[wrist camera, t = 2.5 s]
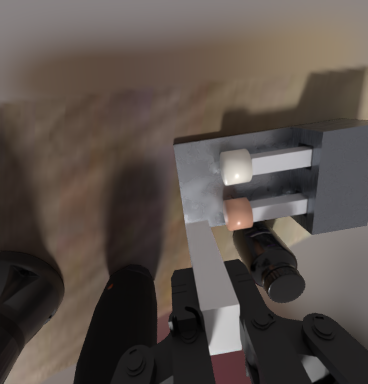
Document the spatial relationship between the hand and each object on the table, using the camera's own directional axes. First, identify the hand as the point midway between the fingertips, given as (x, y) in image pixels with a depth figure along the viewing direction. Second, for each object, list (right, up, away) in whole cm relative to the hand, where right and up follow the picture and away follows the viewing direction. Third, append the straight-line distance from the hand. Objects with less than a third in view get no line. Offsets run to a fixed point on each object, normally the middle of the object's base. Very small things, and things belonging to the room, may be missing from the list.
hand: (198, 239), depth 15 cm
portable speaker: (-10, -13, +24) cm, 29 cm away
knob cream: (+10, +8, +16) cm, 21 cm away
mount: (+11, +5, +19) cm, 22 cm away
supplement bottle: (+11, -4, +23) cm, 26 cm away
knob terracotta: (+11, +2, +19) cm, 22 cm away
